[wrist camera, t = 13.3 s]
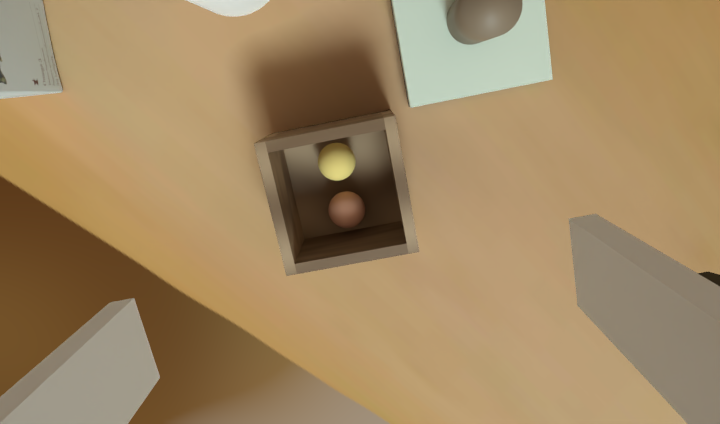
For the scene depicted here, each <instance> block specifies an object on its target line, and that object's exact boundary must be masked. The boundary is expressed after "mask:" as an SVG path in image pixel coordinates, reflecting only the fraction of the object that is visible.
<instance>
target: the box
mask: <svg viewBox="0 0 720 424" xmlns="http://www.w3.org/2000/svg"><path fill="white" fill-rule="evenodd" d="M331 143H342V144H345V145H346V146H348V147H349V148H350V149H351V150H352V151H353V153H354V155H355V160H356V164H355V168H354V170H353V172H352V173H351V175H350V176H349V177H347V178H345V179H343V180H339V181H335V180H330V179H328V178H326V177H325V176H324V175H323V174H322V173H321V171H320V169H319V167H318V157H319V154H320V152H321V150H322V149H323V148H324V147H325V146H327V145H329V144H331ZM254 146H255V150H256V154H257V158H258V163H259V167H260V171H261V175H262V179H263V183H264V187H265V191H266V195H267V199H268V203H269V207H270V211H271V215H272V219H273V223H274V227H275V231H276V235H277V239H278V243H279V247H280V252H281V256H282V260H283V264H284V268H285V272H286V276H289V275H294V274H300V273H305V272H311V271H316V270H322V269H327V268H333V267H338V266H344V265H349V264H355V263H360V262H366V261H371V260H377V259H382V258H388V257H393V256H399V255H404V254H410V253H416V252H419V247H418V241H417V236H416V230H415V224H414V219H413V213H412V208H411V202H410V196H409V191H408V185H407V179H406V174H405V168H404V163H403V157H402V151H401V146H400V140H399V134H398V129H397V123H396V118H395V115H394V114H393V112H392V111H391V110H388V111H383V112H378V113H373V114H368V115H363V116H358V117H353V118H348V119H343V120H338V121H333V122H328V123H323V124H318V125H313V126H308V127H303V128H298V129H293V130H288V131H283V132H278V133H273V134H270V135H269V136H267V137H265V138H263V139H261V140H260V141H258V142H256V143H254ZM344 191H349V192H353V193H355V194H357V195H358V196H360V197H361V199H362V200H363V202H364V205H365V215H364V217H363V219H362V221H361V222H360V223H359V224H358V225H356V226H355V227H352V228H342V227H339V226H337V225H336V224H334V223H333V221H332V220H331V218H330V216H329V212H328V207H329V203H330V201H331V199H332V198H333V197H334V196H335V195H336V194H338V193H340V192H344Z"/></svg>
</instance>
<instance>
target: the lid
mask: <svg viewBox="0 0 720 424" xmlns="http://www.w3.org/2000/svg"><path fill="white" fill-rule="evenodd" d="M391 2H392V8H393V14H394V20H395V26H396V32H397V37H398V43H399V49H400V55H401V61H402V67H403V73H404V78H405V84H406V90H407V96H408V102H409V107H410V108H412V107H417V106H422V105H427V104H432V103H437V102H442V101H447V100H452V99H457V98H462V97H467V96H472V95H477V94H482V93H487V92H492V91H497V90H502V89H507V88H512V87H517V86H522V85H527V84H532V83H537V82H542V81H547V80H552V79H553V78H552V69H551V59H550V49H549V39H548V30H547V20H546V10H545V0H391Z"/></svg>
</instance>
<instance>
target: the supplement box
mask: <svg viewBox="0 0 720 424" xmlns="http://www.w3.org/2000/svg"><path fill="white" fill-rule="evenodd" d="M62 91H63V89H62V86H61V82H60V78H59V75H58V71H57V67H56V63H55V59H54V54H53V50H52V45H51V40H50V35H49V30H48V26H47V21H46V15H45V10H44V4H43V0H0V99H2V98H13V97H24V96H33V95H42V94H52V93H61V92H62Z"/></svg>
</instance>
